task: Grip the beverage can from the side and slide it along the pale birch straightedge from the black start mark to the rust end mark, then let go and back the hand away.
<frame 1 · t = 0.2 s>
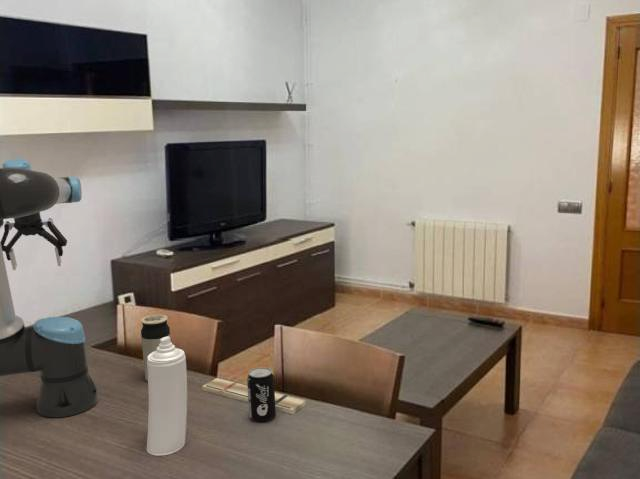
hand: (37, 266, 202), 28 cm above the table, tool tilted 20°, fingers open, 13 cm apart
travel mug: (159, 378, 179), on the table
beverage can: (262, 417, 154), on the table
spray can: (169, 442, 144), on the table
birch straightedge: (252, 397, 165), on the table
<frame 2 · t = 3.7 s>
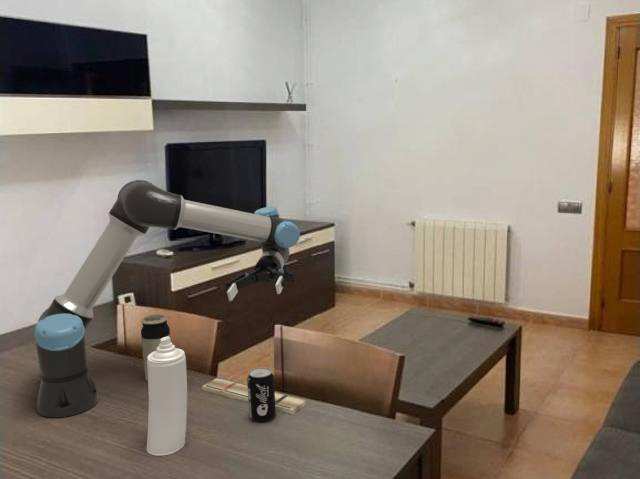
hand: (253, 293, 166), 27 cm above the table, tool horizontal, fingers open, 13 cm apart
nothing on the table moved.
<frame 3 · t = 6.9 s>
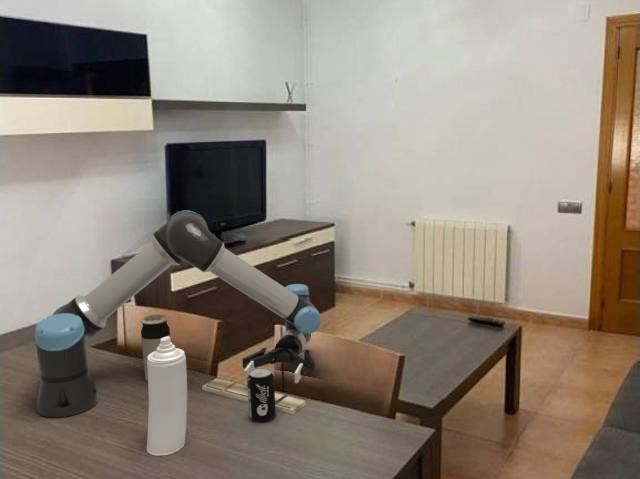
hand: (270, 376, 160), 7 cm above the table, tool horizontal, fingers open, 13 cm apart
nothing on the table moved.
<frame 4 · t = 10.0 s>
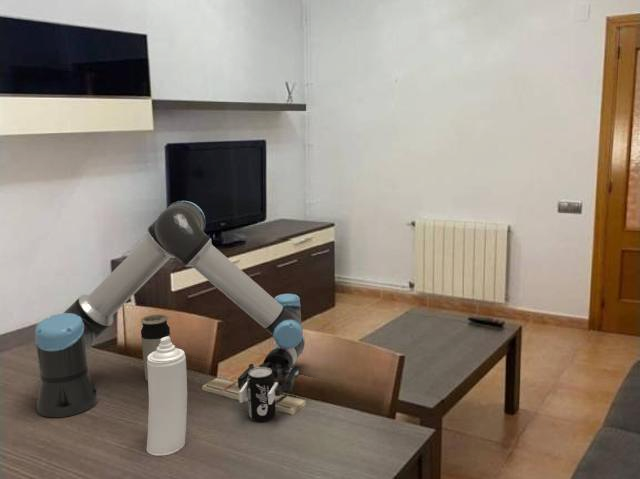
hand: (255, 398, 148), 7 cm above the table, tool horizontal, fingers closed on beverage can, 6 cm apart
beverage can: (262, 417, 154), on the table, touching gripper
everything else where it was.
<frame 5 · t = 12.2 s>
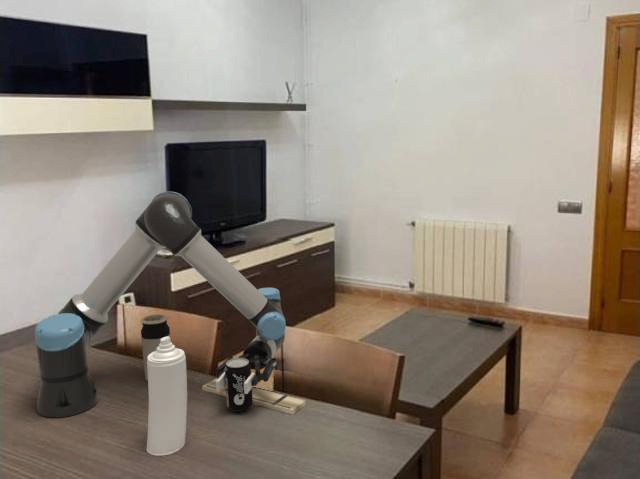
hand: (231, 387, 152), 8 cm above the table, tool horizontal, fingers closed on beverage can, 6 cm apart
beverage can: (240, 407, 158), point 1 cm above the table, touching gripper
everything else where it was.
when the fingers open (8 cm above the table, at t = 15.0 s): beverage can stays where it is, on the table.
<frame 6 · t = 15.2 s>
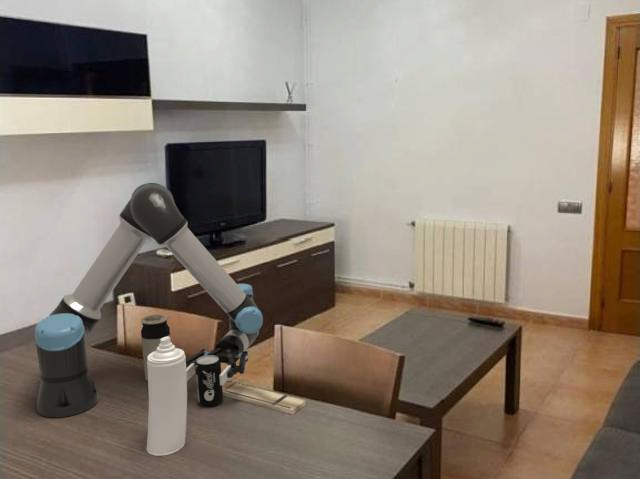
hand: (202, 379, 157), 8 cm above the table, tool horizontal, fingers open, 9 cm apart
beverage can: (210, 402, 163), on the table
everything else where it was.
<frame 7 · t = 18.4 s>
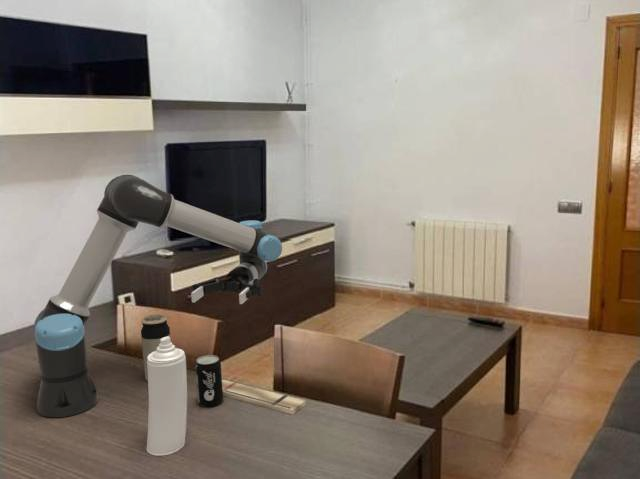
hand: (216, 298, 166), 26 cm above the table, tool horizontal, fingers open, 13 cm apart
nothing on the table moved.
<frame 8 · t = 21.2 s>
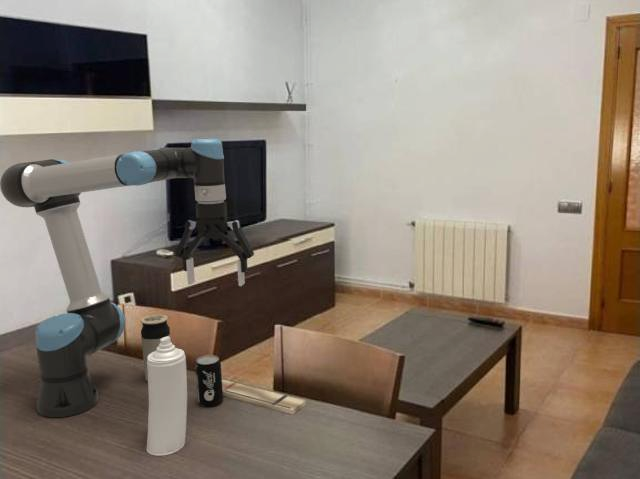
hand: (216, 284, 158), 32 cm above the table, tool pointing down, fingers open, 13 cm apart
nothing on the table moved.
at the end: beverage can inside the target area (0.1 cm from its centre), on the table; beverage can tilted 0°; the gripper is holding nothing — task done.
